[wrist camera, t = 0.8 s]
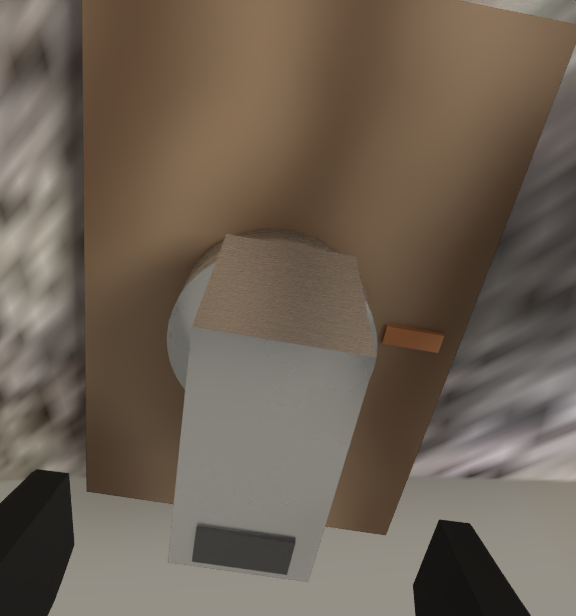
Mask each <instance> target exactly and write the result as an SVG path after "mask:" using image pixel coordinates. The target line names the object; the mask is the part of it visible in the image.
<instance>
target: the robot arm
mask: <svg viewBox="0 0 576 616" xmlns="http://www.w3.org/2000/svg"><path fill="white" fill-rule="evenodd" d="M73 547H74V533H73V520H72V507H71V494H70V481H69V473H62V472H54V471H46V470H38V469H37V470H35V471H34V472H32V473H31V474H30V475H29V476H28V477H27V478H26V479H25V480H24V481H23V482H22V483H21V484H20V485H19V486H18V487H17V488H16V489H14V491H12V493H10V494H9V495H8V496H7V497H6V498H5V499H4V500H3V501H2V502H1V503H0V616H47V615H48V614H49V611H50V609H51V607H52V605H53V603H54V601H55V598H56V595H57V592H58V590H59V587H60V584H61V582H62V579H63V576H64V573H65V570H66V567H67V564H68V562H69V558H70V556H71V553H72V550H73ZM413 591H414V603H415V614H416V616H531V615H530V614H529V612H528V611H527V609H526V608H525V606H524V605H523V603H522V602H521V601H520V599H519V598H518V596H517V595H516V593H515V592H514V590H513V588H512V587H511V585H510V584H509V583H508V581H507V580H506V578H505V576H504V575H503V574H502V572H501V570H500V569H499V567H498V566H497V564H496V563H495V561H494V559H493V558H492V557H491V555H490V553H489V552H488V550H487V549H486V547H485V546H484V544H483V542H482V541H481V539H480V538H479V536H478V535H477V533H476V532H475V530H474V529H473V527H472V526H471V525H470V523H463V522H454V521H447V520H439V521H438V524H437V526H436V529H435V531H434V534H433V536H432V539H431V541H430V544H429V546H428V549H427V551H426V554H425V556H424V559H423V561H422V564H421V567H420V569H419V572H418V574H417V577H416V579H415V582H414V584H413Z"/></svg>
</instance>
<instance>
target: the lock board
mask: <svg viewBox="0 0 576 616" xmlns="http://www.w3.org/2000/svg"><path fill="white" fill-rule="evenodd" d="M575 45H576V24H572V23H568V22H563V21H558V20H553V19H548V18H543V17H538V16H533V15H528V14H523V13H518V12H513V11H508V10H503V9H498V8H493V7H488V6H483V5H479V4H474V3H469V2H464V1H459V0H82V58H83V164H84V269H85V374H86V479H87V492H94V493H101V494H108V495H114V496H122V497H128V498H135V499H141V500H148V501H155V502H162V503H169V504H174V496H175V486H176V476H177V466H178V456H179V447H180V437H181V427H182V417H183V407H184V397H185V389H184V388H183V387H182V385H181V384H180V382H179V381H178V379H177V377H176V375H175V373H174V371H173V369H172V366H171V363H170V359H169V356H168V349H167V330H168V323H169V320H170V316H171V313H172V310H173V308H174V306H175V304H176V302H177V300H178V297H179V295H180V293H181V291H182V289H183V286H184V284H185V282H186V280H187V278H188V276H189V274H190V272H191V270H192V269H193V268H194V266H195V265H196V263H197V262H198V261H199V260H200V259H201V258H202V257H203V256H204V254H205V253H207V252H208V251H209V250H210V249H212V248H213V247H214V246H215V245H217V244H219V243H220V242H222V241H224V239H225V236H226V234H230V235H237V234H240V233H244V232H247V231H251V230H258V229H271V228H279V229H288V230H294V231H298V232H302V233H306V234H308V235H311V236H314V237H316V238H319V239H320V240H322V241H324V242H326V243H328V244H330V245H331V246H332V247H334V248H335V249H337V250H338V251H339V252H340V253H342V254H345V255H351V256H356V259H357V264H358V269H359V274H360V277H361V278H362V280H363V282H364V285H365V287H366V290H367V293H368V297H369V301H370V306H371V310H372V315H373V319H374V324H375V329H376V334H377V357H376V362H375V366H374V369H373V372H372V375H371V377H370V380H369V383H368V386H367V390H366V393H365V396H364V400H363V403H362V406H361V409H360V413H359V416H358V419H357V423H356V426H355V429H354V433H353V436H352V439H351V442H350V446H349V449H348V452H347V456H346V459H345V462H344V466H343V469H342V472H341V475H340V479H339V482H338V485H337V489H336V492H335V495H334V499H333V502H332V505H331V509H330V512H329V515H328V518H327V522H326V525H325V526H326V527H334V528H340V529H346V530H353V531H360V532H367V533H374V534H381V535H386V533H387V531H388V528H389V525H390V523H391V521H392V518H393V515H394V513H395V510H396V508H397V505H398V502H399V500H400V497H401V495H402V492H403V489H404V487H405V484H406V481H407V479H408V477H409V474H410V471H411V469H412V466H413V464H414V461H415V458H416V456H417V453H418V451H419V448H420V446H421V443H422V440H423V438H424V435H425V433H426V430H427V427H428V425H429V422H430V420H431V417H432V415H433V412H434V409H435V407H436V404H437V402H438V399H439V396H440V394H441V391H442V389H443V386H444V384H445V381H446V378H447V376H448V373H449V371H450V368H451V365H452V363H453V360H454V358H455V355H456V352H457V350H458V347H459V345H460V342H461V340H462V337H463V334H464V332H465V329H466V327H467V324H468V321H469V319H470V316H471V314H472V311H473V309H474V306H475V303H476V301H477V298H478V296H479V293H480V290H481V288H482V285H483V283H484V280H485V278H486V275H487V272H488V270H489V267H490V265H491V262H492V259H493V257H494V254H495V252H496V249H497V246H498V244H499V241H500V239H501V236H502V234H503V231H504V228H505V226H506V223H507V221H508V218H509V215H510V213H511V210H512V208H513V205H514V203H515V200H516V197H517V195H518V192H519V190H520V187H521V184H522V182H523V179H524V177H525V174H526V172H527V169H528V166H529V164H530V161H531V159H532V156H533V153H534V151H535V148H536V146H537V143H538V141H539V138H540V135H541V133H542V130H543V128H544V125H545V122H546V120H547V117H548V115H549V112H550V109H551V107H552V104H553V102H554V99H555V97H556V94H557V91H558V89H559V86H560V84H561V81H562V78H563V76H564V73H565V71H566V68H567V66H568V63H569V60H570V58H571V55H572V53H573V50H574V47H575Z"/></svg>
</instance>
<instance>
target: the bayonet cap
mask: <svg viewBox="0 0 576 616" xmlns="http://www.w3.org/2000/svg"><path fill="white" fill-rule="evenodd" d="M167 349H168V356H169V359H170V363H171V366H172V369H173V371H174V373H175V375H176V377H177V379H178V381H179V382H180V384H181V385H182V387H183V388H184V389H185V397H184V407H183V417H182V427H181V437H180V447H179V456H178V466H177V476H176V486H175V496H174V506H173V517H172V527H171V537H170V546H169V556H168V563H176V564H183V565H190V566H197V567H204V568H211V569H218V570H225V571H233V572H240V573H247V574H254V575H262V576H269V577H276V578H282V579H290V580H297V581H305V582H308V581H309V578H310V575H311V571H312V568H313V565H314V561H315V558H316V555H317V551H318V548H319V545H320V542H321V538H322V535H323V532H324V528H325V525H326V522H327V518H328V515H329V512H330V509H331V505H332V502H333V499H334V495H335V492H336V489H337V485H338V482H339V479H340V475H341V472H342V469H343V466H344V462H345V459H346V456H347V452H348V449H349V446H350V442H351V439H352V436H353V433H354V429H355V426H356V423H357V419H358V416H359V413H360V409H361V406H362V403H363V400H364V396H365V393H366V390H367V386H368V383H369V380H370V377H371V375H372V372H373V369H374V366H375V362H376V357H377V334H376V329H375V324H374V319H373V315H372V310H371V306H370V301H369V297H368V293H367V290H366V287H365V285H364V282H363V280H362V278H361V277H360V274H359V269H358V264H357V259H356V256H351V255H345V254H342V253H340V252H339V251H338V250H337V249H335V248H334V247H332V246H331V245H330V244H328V243H326V242H324V241H322V240H320V239H319V238H316V237H314V236H311V235H308V234H306V233H302V232H298V231H294V230H288V229H279V228H271V229H258V230H251V231H247V232H244V233H240V234H237V235H230V234H226V236H225V239H224V241H222V242H220V243H219V244H217V245H215V246H214V247H213V248H212V249H210V250H209V251H208V252H207V253H205V254H204V256H203V257H202V258H201V259H200V260H199V261H198V262H197V263H196V265H195V266H194V268H193V269H192V270H191V272H190V274H189V276H188V278H187V280H186V282H185V284H184V286H183V289H182V291H181V293H180V295H179V297H178V300H177V302H176V304H175V306H174V308H173V310H172V313H171V316H170V320H169V323H168V330H167Z"/></svg>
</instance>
